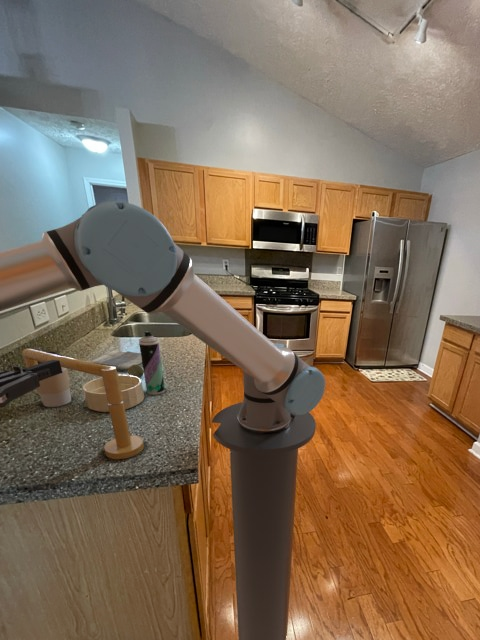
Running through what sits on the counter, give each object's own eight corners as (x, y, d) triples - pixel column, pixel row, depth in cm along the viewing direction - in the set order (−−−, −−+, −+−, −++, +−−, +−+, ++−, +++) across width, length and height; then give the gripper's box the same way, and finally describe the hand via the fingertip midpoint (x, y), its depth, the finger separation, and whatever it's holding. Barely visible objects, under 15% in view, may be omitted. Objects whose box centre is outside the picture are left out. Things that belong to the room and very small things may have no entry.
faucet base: (150, 442, 77) (143, 397, 72) (130, 461, 70) (121, 412, 65) (120, 438, 78) (110, 394, 73) (97, 457, 70) (85, 408, 66)
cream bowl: (153, 394, 102) (151, 377, 100) (124, 415, 89) (120, 395, 86) (110, 390, 104) (106, 373, 101) (74, 410, 90) (69, 390, 88)
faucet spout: (125, 400, 69) (119, 366, 66) (114, 405, 67) (107, 370, 64) (39, 377, 79) (30, 346, 75) (27, 381, 76) (17, 349, 73)
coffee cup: (78, 394, 99) (66, 348, 93) (72, 406, 92) (59, 356, 86) (43, 397, 96) (29, 349, 90) (34, 410, 89) (17, 358, 82)
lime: (146, 378, 115) (144, 365, 113) (132, 381, 112) (130, 367, 110) (140, 374, 118) (138, 362, 116) (127, 377, 115) (125, 364, 112)
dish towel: (129, 372, 119) (128, 364, 118) (87, 367, 122) (85, 359, 120) (158, 359, 136) (157, 351, 135) (120, 355, 138) (119, 347, 137)
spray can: (143, 393, 103) (133, 332, 95) (155, 387, 108) (146, 328, 100) (157, 396, 102) (148, 334, 93) (168, 390, 106) (160, 330, 98)
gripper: (-112, 430, 48) (37, 379, 69) (-43, 444, 46) (88, 386, 67) (-138, 384, 45) (26, 345, 66) (-65, 396, 42) (80, 352, 64)
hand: (57, 366), depth 66 cm, fingers closed
